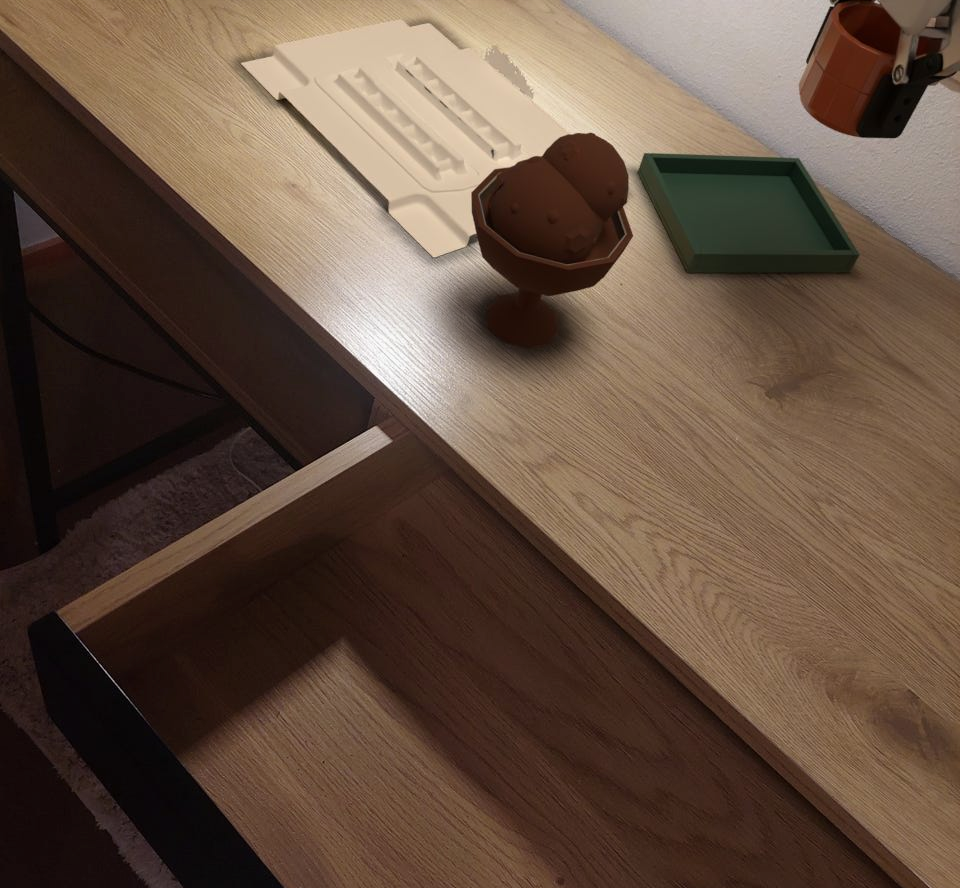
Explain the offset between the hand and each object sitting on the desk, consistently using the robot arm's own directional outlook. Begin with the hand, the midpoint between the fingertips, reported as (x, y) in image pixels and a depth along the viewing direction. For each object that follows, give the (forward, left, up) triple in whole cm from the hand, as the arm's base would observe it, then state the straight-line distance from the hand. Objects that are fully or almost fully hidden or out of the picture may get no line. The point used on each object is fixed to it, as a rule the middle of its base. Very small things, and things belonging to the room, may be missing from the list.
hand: (851, 98), depth 71 cm
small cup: (0, 0, -1) cm, 1 cm away
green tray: (-3, -10, -18) cm, 21 cm away
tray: (+22, -22, -18) cm, 36 cm away
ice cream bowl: (+20, +2, -18) cm, 27 cm away
